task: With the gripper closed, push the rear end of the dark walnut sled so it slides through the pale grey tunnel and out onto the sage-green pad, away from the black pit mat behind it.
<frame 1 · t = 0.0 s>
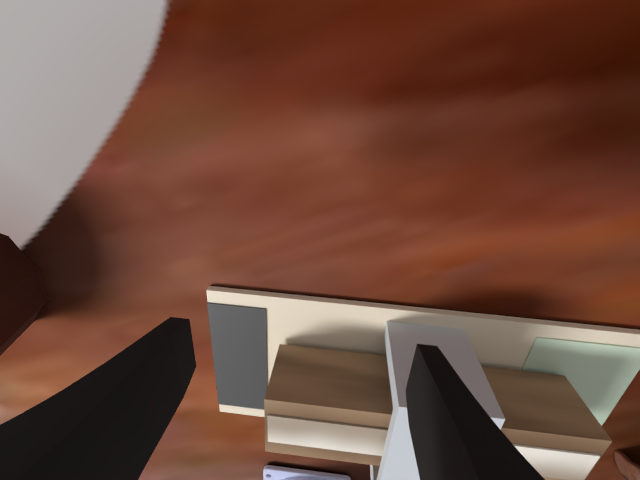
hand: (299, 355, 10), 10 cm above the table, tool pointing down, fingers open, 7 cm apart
tunnel: (424, 375, 24), on the table
sled: (418, 413, 21), point 3 cm above the table, slide at 0.0 cm
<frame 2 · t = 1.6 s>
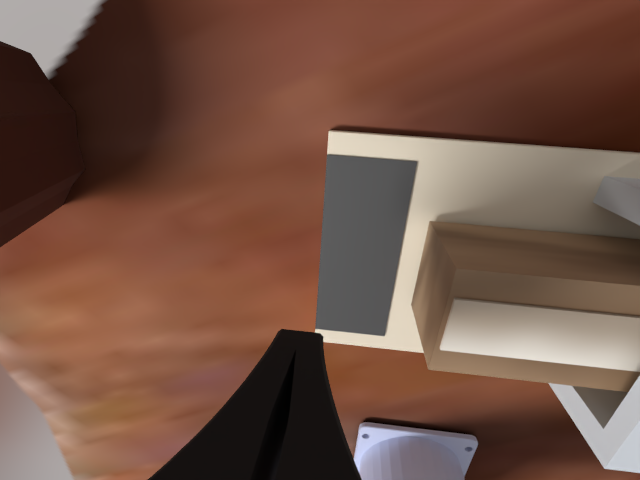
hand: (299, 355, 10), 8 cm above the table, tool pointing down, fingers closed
tunnel: (626, 276, 17), on the table
muffin: (0, 126, 16), on the table
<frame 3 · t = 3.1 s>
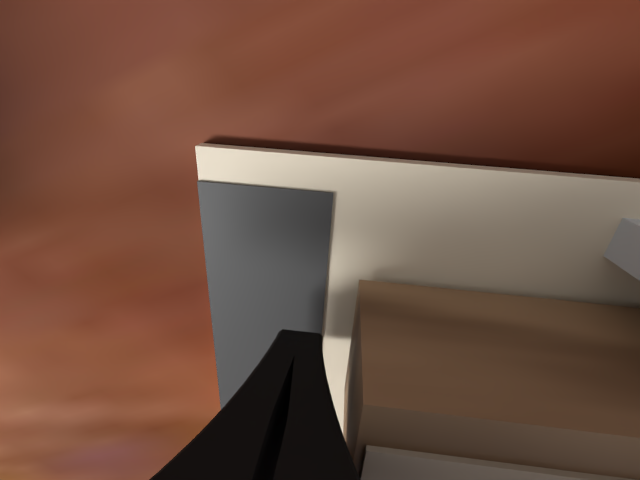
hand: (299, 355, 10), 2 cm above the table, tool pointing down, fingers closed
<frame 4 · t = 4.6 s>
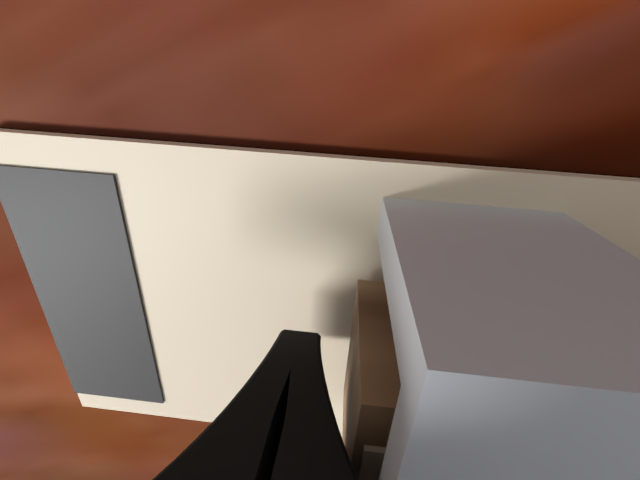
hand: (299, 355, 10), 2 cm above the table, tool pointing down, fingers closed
tunnel: (458, 332, 12), on the table
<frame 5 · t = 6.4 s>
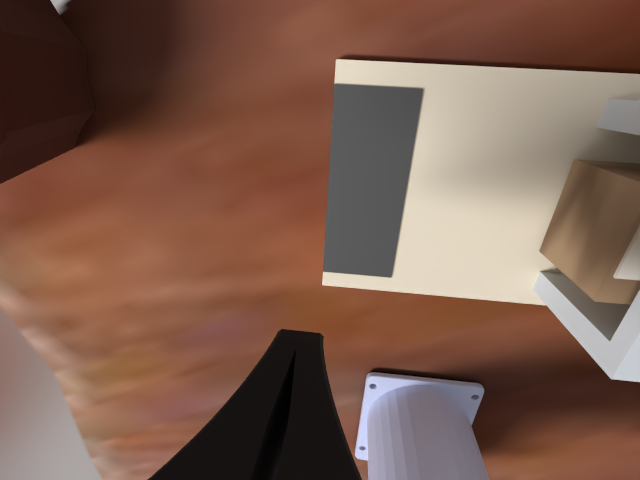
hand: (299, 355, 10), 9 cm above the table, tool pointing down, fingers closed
tunnel: (631, 208, 17), on the table
muffin: (12, 66, 17), on the table
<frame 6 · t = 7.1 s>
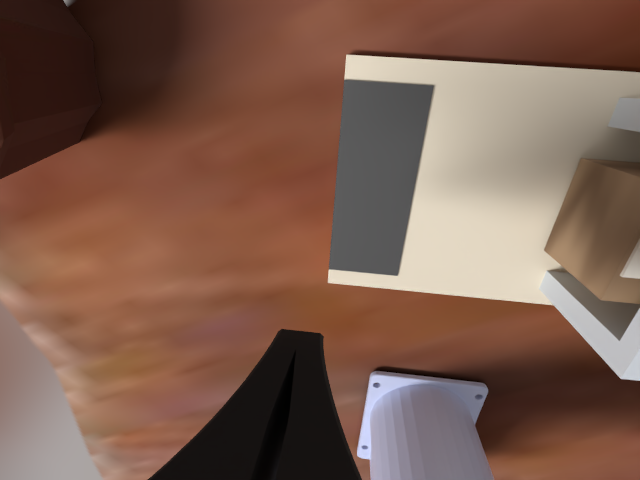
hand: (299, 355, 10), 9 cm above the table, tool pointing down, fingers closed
tunnel: (639, 208, 17), on the table
muffin: (17, 58, 16), on the table
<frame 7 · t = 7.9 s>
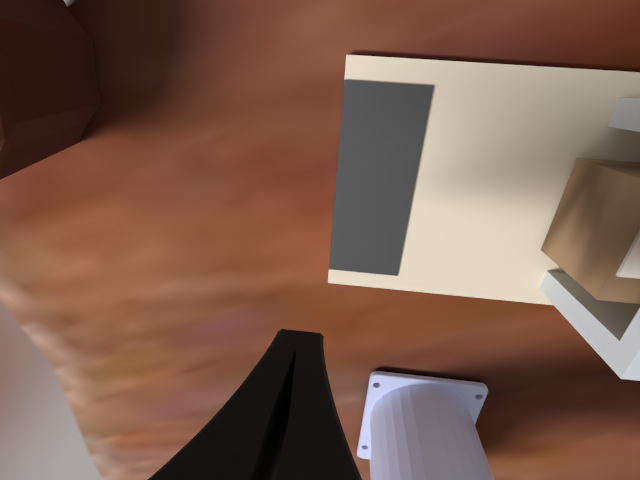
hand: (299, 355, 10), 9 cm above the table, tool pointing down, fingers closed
tunnel: (639, 208, 17), on the table
muffin: (18, 58, 16), on the table
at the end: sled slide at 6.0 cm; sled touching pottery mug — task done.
